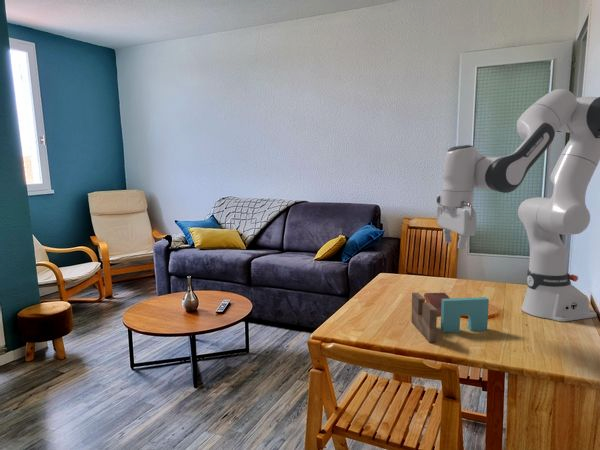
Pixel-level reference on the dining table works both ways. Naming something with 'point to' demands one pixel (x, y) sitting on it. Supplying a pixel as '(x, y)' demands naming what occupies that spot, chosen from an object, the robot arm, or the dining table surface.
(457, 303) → the teal slotted plate
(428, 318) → the walnut slotted plate
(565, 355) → the dining table surface
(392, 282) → the dining table surface
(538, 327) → the dining table surface
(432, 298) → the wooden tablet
